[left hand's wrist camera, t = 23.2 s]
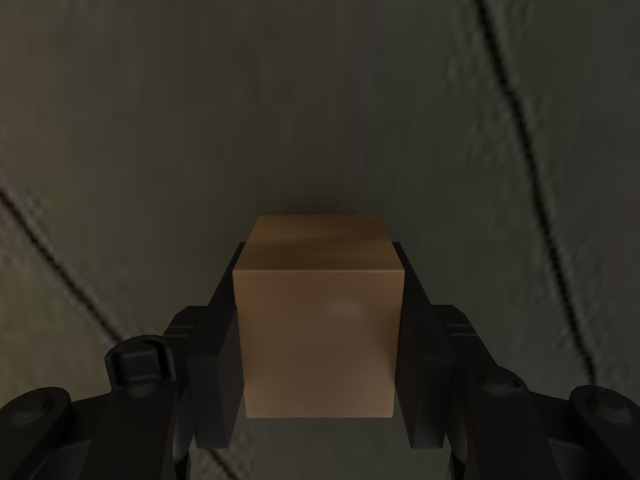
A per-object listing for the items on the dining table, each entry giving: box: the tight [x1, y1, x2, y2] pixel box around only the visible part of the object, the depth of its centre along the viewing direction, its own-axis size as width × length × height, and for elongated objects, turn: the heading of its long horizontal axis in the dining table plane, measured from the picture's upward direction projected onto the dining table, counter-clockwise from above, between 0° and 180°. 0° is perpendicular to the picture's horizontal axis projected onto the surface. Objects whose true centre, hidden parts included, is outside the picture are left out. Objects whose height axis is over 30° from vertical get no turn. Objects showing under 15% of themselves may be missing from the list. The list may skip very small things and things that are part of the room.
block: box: [232, 215, 405, 418], centre depth 13 cm, size 4×5×5 cm
